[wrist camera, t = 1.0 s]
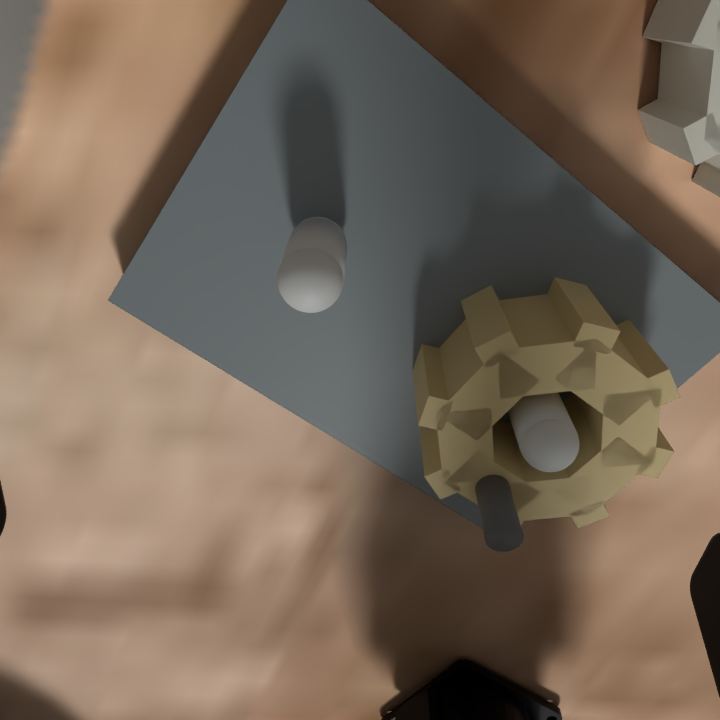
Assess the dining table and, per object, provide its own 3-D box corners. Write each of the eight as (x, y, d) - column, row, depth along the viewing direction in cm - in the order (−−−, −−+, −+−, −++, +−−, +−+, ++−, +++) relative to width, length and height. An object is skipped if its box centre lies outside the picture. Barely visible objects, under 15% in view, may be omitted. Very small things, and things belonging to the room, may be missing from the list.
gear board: (725, 307, 21) (858, 422, 15) (493, 510, 25) (528, 659, 19) (319, -42, 16) (290, -65, 10) (124, 281, 21) (29, 387, 15)
